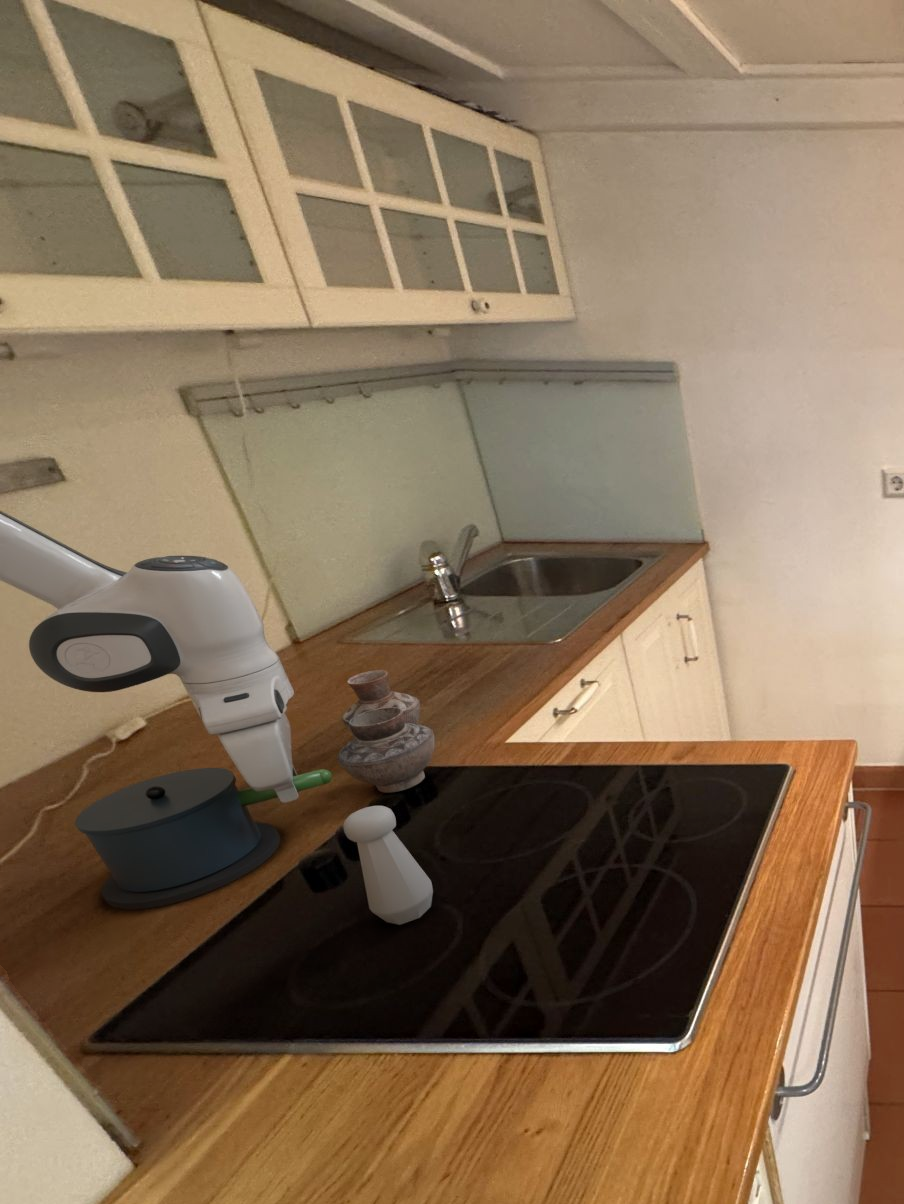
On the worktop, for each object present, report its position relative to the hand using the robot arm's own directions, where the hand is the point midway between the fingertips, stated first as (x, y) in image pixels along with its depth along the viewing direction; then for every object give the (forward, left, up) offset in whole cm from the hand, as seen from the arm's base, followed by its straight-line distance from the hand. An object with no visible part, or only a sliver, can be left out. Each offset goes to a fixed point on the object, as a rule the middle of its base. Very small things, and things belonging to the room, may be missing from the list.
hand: (290, 790), depth 97 cm
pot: (-7, 0, -5) cm, 8 cm away
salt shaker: (+8, -28, -6) cm, 30 cm away
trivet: (-11, 0, -6) cm, 13 cm away
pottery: (+11, +13, -6) cm, 18 cm away
